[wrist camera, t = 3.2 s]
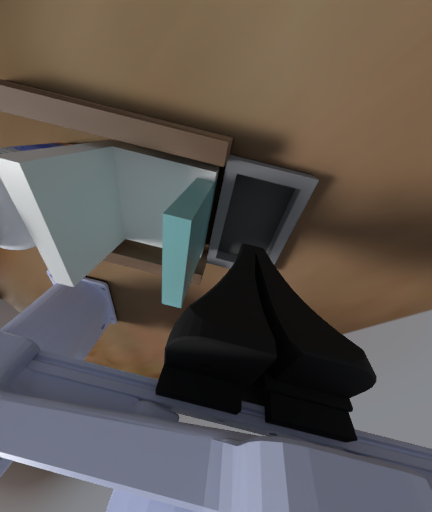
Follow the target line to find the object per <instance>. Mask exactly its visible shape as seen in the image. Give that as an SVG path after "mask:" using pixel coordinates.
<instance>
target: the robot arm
mask: <svg viewBox="0 0 432 512" xmlns="http://www.w3.org/2000/svg"><path fill="white" fill-rule="evenodd" d="M47 274H48V276H49V277H50V279H51V281H52V283H53V286H52V287H51V288H50V289H49V290H47V291H46V292H45V293H44V294H43V295H41V296H40V297H39V298H38V299H37V300H35V301H34V302H33V303H32V304H31V305H29V306H28V307H27V308H26V309H25V310H23V311H22V312H21V313H20V314H19V315H17V316H16V317H15V318H14V319H13V320H11V321H10V322H9V323H8V324H7V325H5V326H4V327H3V328H2V329H1V330H0V477H1V476H2V475H3V473H4V472H5V471H6V469H7V468H8V467H9V466H10V464H11V463H12V462H13V461H16V462H20V463H23V464H27V465H30V466H34V467H37V468H41V469H45V470H48V471H52V472H55V473H59V474H63V475H66V476H70V477H73V478H77V479H81V480H84V481H88V482H91V483H95V484H99V485H102V486H106V487H110V488H113V489H114V490H113V493H112V496H111V498H110V501H109V504H108V506H107V509H106V512H432V449H430V448H426V447H422V446H418V445H414V444H410V443H406V442H402V441H398V440H394V439H391V438H386V437H383V436H378V435H375V434H371V433H367V432H363V431H359V430H355V429H354V427H353V424H352V421H351V419H350V416H349V412H351V411H353V407H352V405H351V402H350V399H349V398H351V397H353V396H355V395H358V394H360V393H362V392H365V391H367V390H368V389H370V388H372V387H373V385H374V384H375V382H376V375H375V373H374V371H373V369H372V367H371V365H370V363H369V361H368V359H367V357H366V355H365V353H364V351H363V350H362V349H361V348H360V347H358V346H357V345H356V344H354V343H353V342H351V341H350V340H349V339H347V338H346V337H345V336H343V335H342V334H341V333H339V332H338V331H337V330H335V329H334V328H333V327H332V326H330V325H329V324H328V323H327V322H326V321H324V320H323V319H322V318H321V317H320V316H319V315H317V314H316V313H315V312H314V311H313V310H312V309H311V308H310V307H309V306H308V305H307V304H306V303H305V302H304V301H303V300H302V299H301V298H300V297H299V296H298V295H297V294H296V293H295V292H294V291H293V289H292V288H291V287H290V286H289V285H288V283H287V282H286V281H285V280H284V278H283V277H282V276H281V274H280V273H279V271H278V270H277V269H276V267H275V266H274V264H273V262H272V261H271V259H270V258H269V256H268V254H267V253H266V251H265V250H264V248H261V247H257V246H253V245H249V244H245V243H243V244H241V247H240V250H239V253H238V256H237V259H236V261H235V263H234V264H233V266H232V267H231V268H230V270H229V271H228V272H227V274H226V275H225V276H224V277H223V278H222V279H221V280H220V281H219V282H218V283H217V284H216V285H215V286H214V287H213V288H212V289H211V290H210V291H208V292H207V293H206V294H205V295H204V296H202V297H201V298H200V299H198V300H197V301H195V302H194V303H192V304H191V305H189V306H188V308H187V309H186V310H185V311H184V313H183V314H182V315H181V317H180V318H179V319H178V321H177V322H176V324H175V325H174V327H173V329H172V331H171V333H170V335H169V338H168V341H167V344H166V347H165V360H164V366H163V369H162V372H161V375H160V377H159V380H157V379H153V378H149V377H145V376H141V375H137V374H134V373H130V372H126V371H122V370H118V369H114V368H110V367H106V366H102V365H98V364H94V363H90V362H86V361H83V360H84V359H85V358H86V356H87V355H88V354H89V352H90V351H91V349H92V348H93V346H94V345H95V344H96V342H97V341H98V339H99V338H100V336H101V335H102V333H103V332H104V331H105V329H106V328H107V326H108V325H109V323H112V324H116V323H117V318H116V314H115V310H114V306H113V303H112V299H111V295H110V291H109V287H108V284H107V283H105V282H102V281H98V280H94V279H90V278H86V277H84V278H83V279H82V280H81V281H80V282H79V283H78V284H77V285H76V286H75V287H71V286H67V285H63V284H59V283H55V281H54V279H53V277H52V275H51V273H50V271H49V269H48V270H47ZM177 413H179V414H183V415H186V416H191V417H194V418H198V419H203V420H207V421H210V422H214V423H218V424H222V425H226V426H230V427H234V428H238V429H242V430H246V431H250V432H254V433H258V434H262V435H266V436H256V435H251V434H245V433H240V432H235V431H229V430H222V429H217V428H211V427H205V426H200V425H194V424H188V423H182V422H178V421H179V416H178V414H177Z"/></svg>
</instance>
